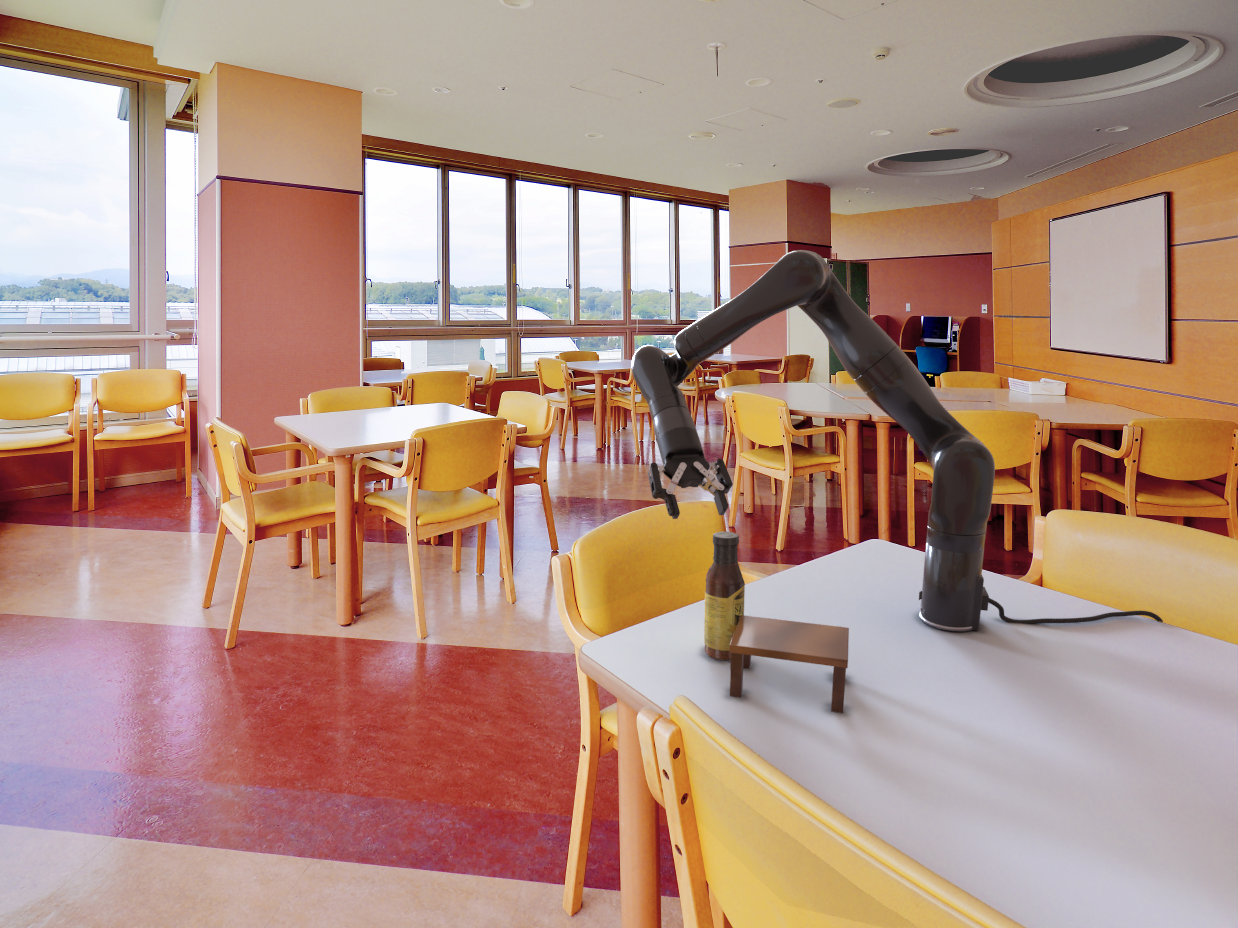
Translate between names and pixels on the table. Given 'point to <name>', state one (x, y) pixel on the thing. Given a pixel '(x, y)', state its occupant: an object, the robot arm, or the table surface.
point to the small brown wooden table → (790, 649)
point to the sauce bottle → (723, 596)
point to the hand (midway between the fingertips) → (700, 514)
